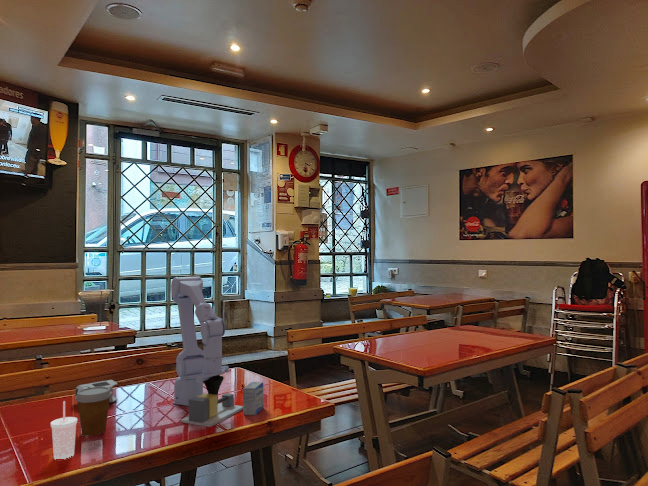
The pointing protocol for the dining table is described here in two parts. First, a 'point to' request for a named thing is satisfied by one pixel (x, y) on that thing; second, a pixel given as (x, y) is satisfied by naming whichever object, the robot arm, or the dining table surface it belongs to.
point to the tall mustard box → (211, 403)
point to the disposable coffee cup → (93, 409)
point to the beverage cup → (63, 436)
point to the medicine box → (253, 398)
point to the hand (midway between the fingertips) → (213, 399)
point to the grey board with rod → (200, 410)
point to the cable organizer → (98, 384)
